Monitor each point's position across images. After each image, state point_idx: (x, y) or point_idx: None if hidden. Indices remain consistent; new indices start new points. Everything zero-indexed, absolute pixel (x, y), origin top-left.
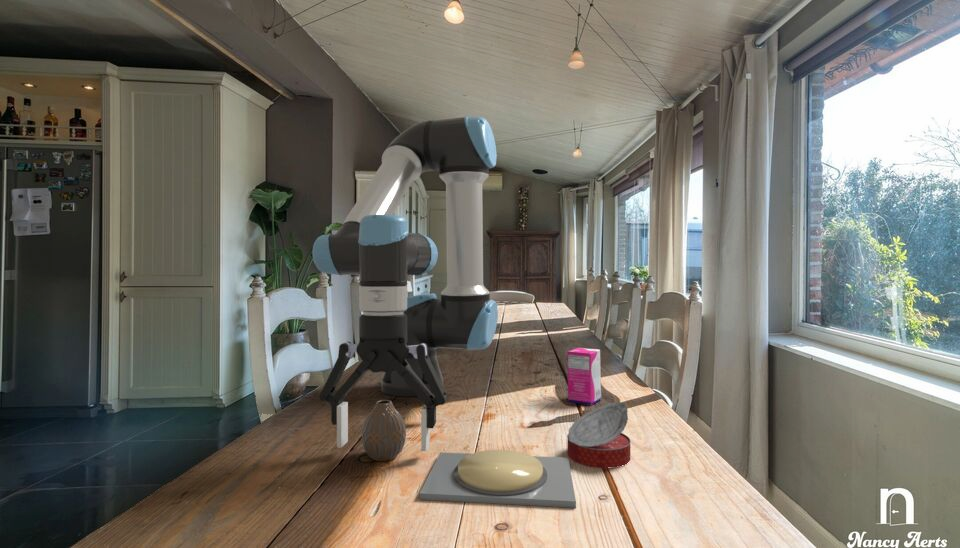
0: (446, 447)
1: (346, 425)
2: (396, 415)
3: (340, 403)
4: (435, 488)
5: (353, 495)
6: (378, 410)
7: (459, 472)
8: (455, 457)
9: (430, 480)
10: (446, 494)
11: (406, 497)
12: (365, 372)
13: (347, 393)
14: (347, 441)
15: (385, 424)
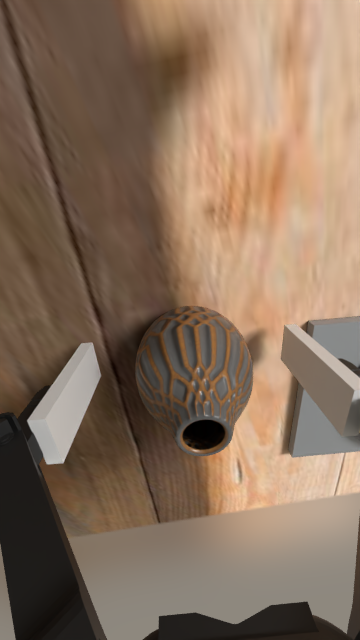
0: (320, 261)
1: (79, 376)
2: (243, 408)
3: (37, 445)
4: (312, 444)
5: (197, 456)
6: (194, 444)
7: None
8: (347, 343)
9: (303, 427)
10: (328, 453)
11: (269, 448)
12: (81, 591)
13: (38, 469)
14: (93, 346)
15: (218, 427)
